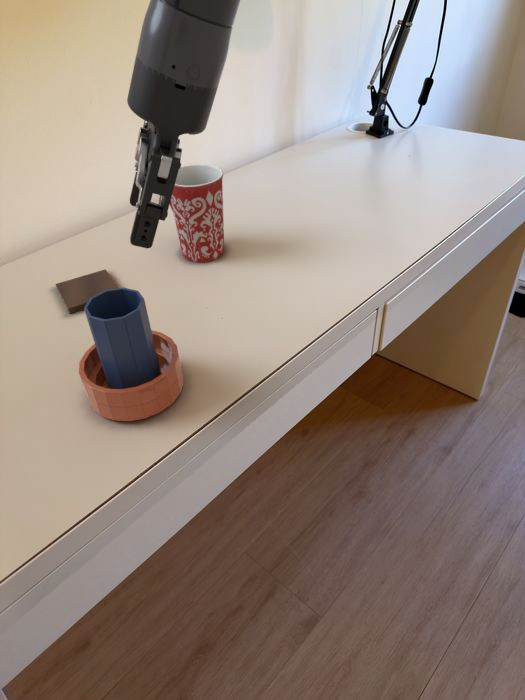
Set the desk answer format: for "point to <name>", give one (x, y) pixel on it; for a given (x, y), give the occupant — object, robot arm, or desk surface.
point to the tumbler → (123, 337)
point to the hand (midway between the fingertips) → (139, 224)
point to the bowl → (134, 399)
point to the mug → (199, 212)
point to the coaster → (84, 289)
